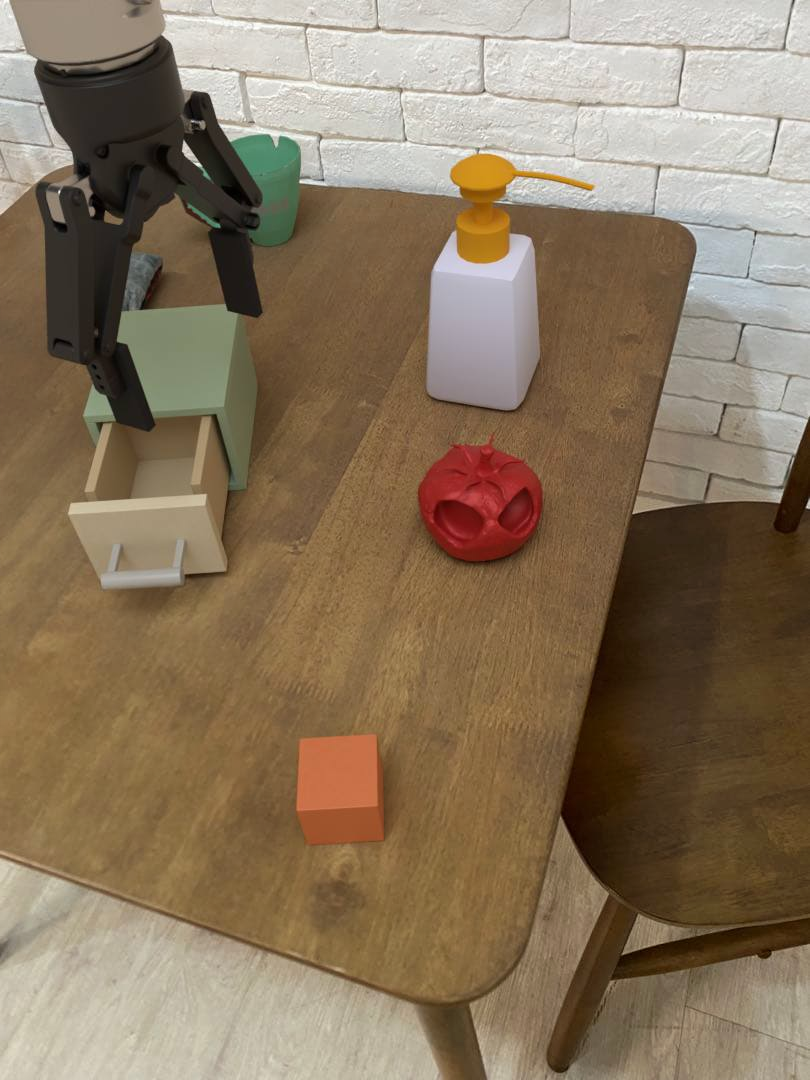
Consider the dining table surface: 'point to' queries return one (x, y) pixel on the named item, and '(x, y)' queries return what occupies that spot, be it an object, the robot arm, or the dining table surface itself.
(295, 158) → the mug
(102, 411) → the cabinet
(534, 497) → the red carved tomato
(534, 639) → the dining table surface
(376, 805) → the block
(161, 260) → the packaged food
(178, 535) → the drawer
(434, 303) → the soap bottle
